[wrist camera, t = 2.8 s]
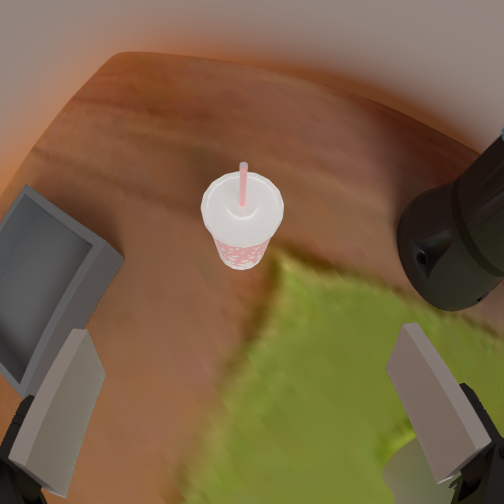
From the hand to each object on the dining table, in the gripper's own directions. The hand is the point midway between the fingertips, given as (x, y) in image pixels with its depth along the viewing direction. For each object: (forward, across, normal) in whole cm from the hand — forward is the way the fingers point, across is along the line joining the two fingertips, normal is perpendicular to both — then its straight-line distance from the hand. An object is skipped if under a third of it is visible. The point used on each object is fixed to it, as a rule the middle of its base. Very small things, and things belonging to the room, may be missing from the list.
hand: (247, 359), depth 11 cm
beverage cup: (+19, 0, -4) cm, 20 cm away
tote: (+16, -23, -8) cm, 29 cm away
